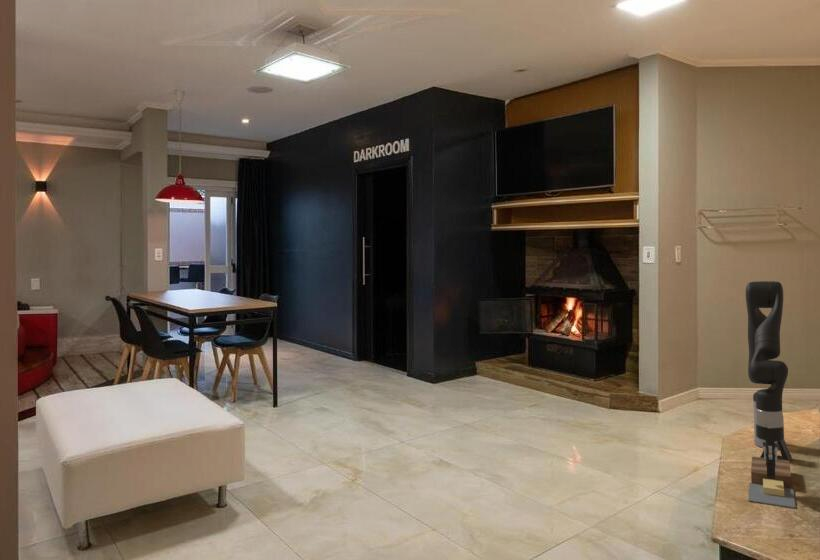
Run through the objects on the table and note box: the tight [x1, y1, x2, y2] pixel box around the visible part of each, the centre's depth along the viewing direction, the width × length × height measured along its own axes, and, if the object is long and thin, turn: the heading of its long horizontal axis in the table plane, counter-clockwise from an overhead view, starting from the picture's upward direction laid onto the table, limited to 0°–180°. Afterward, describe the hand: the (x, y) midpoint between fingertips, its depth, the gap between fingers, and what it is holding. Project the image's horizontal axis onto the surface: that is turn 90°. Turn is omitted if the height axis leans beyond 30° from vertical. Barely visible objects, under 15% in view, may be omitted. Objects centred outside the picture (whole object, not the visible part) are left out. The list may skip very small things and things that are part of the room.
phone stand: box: [760, 438, 793, 462], centre depth 212 cm, size 9×6×12 cm, turn 49°
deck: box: [750, 456, 793, 489], centre depth 195 cm, size 16×11×4 cm
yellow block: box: [763, 478, 784, 496], centre depth 184 cm, size 8×6×2 cm
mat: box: [748, 482, 797, 509], centre depth 181 cm, size 15×12×1 cm
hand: (771, 477), depth 184 cm, fingers closed
